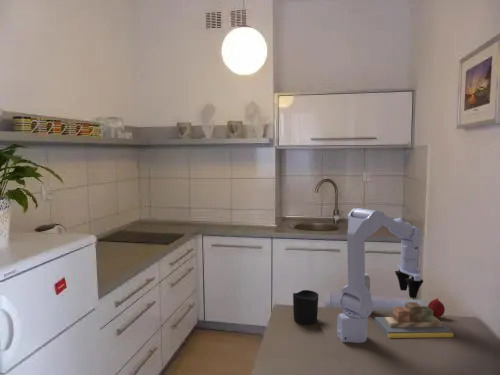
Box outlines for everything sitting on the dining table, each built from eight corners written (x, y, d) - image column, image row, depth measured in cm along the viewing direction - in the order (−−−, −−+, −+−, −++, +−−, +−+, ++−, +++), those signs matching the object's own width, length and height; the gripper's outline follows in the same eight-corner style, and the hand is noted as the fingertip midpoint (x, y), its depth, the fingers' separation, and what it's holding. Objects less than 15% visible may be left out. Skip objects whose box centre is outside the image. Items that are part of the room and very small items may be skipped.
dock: (388, 340, 125) (388, 332, 125) (374, 323, 138) (374, 317, 137) (453, 339, 126) (453, 331, 125) (433, 322, 138) (433, 316, 138)
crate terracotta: (398, 322, 129) (398, 311, 129) (392, 318, 133) (393, 307, 133) (409, 322, 129) (409, 311, 129) (403, 317, 133) (404, 306, 133)
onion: (446, 322, 139) (447, 301, 138) (429, 320, 140) (430, 300, 139) (441, 315, 145) (442, 295, 144) (425, 314, 146) (426, 294, 145)
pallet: (390, 327, 129) (391, 307, 128) (384, 321, 134) (385, 302, 133) (441, 326, 129) (442, 306, 129) (434, 320, 134) (434, 301, 134)
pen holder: (319, 326, 136) (319, 299, 135) (293, 325, 136) (293, 298, 136) (316, 315, 145) (317, 290, 144) (292, 314, 146) (292, 289, 145)
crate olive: (421, 322, 130) (421, 311, 129) (415, 317, 133) (416, 306, 133) (432, 322, 130) (433, 310, 129) (426, 317, 134) (427, 306, 133)
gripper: (429, 263, 131) (428, 300, 132) (410, 252, 146) (409, 287, 147) (410, 263, 131) (408, 301, 132) (392, 253, 145) (391, 287, 146)
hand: (408, 293), depth 139 cm, fingers open, 7 cm apart
